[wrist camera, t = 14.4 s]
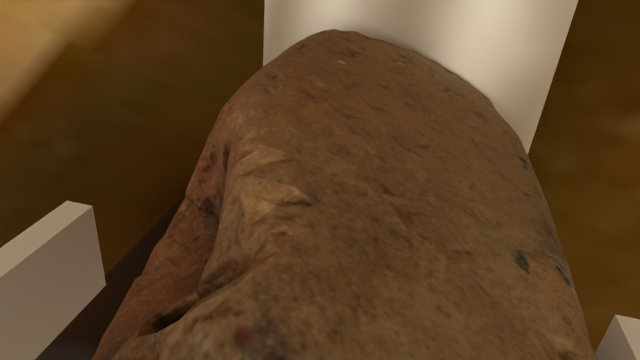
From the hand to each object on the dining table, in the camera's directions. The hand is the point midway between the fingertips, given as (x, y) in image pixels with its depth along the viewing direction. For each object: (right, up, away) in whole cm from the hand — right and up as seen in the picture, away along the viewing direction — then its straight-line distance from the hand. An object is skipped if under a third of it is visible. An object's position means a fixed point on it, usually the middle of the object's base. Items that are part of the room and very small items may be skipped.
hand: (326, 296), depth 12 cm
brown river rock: (+4, +6, +12) cm, 14 cm away
